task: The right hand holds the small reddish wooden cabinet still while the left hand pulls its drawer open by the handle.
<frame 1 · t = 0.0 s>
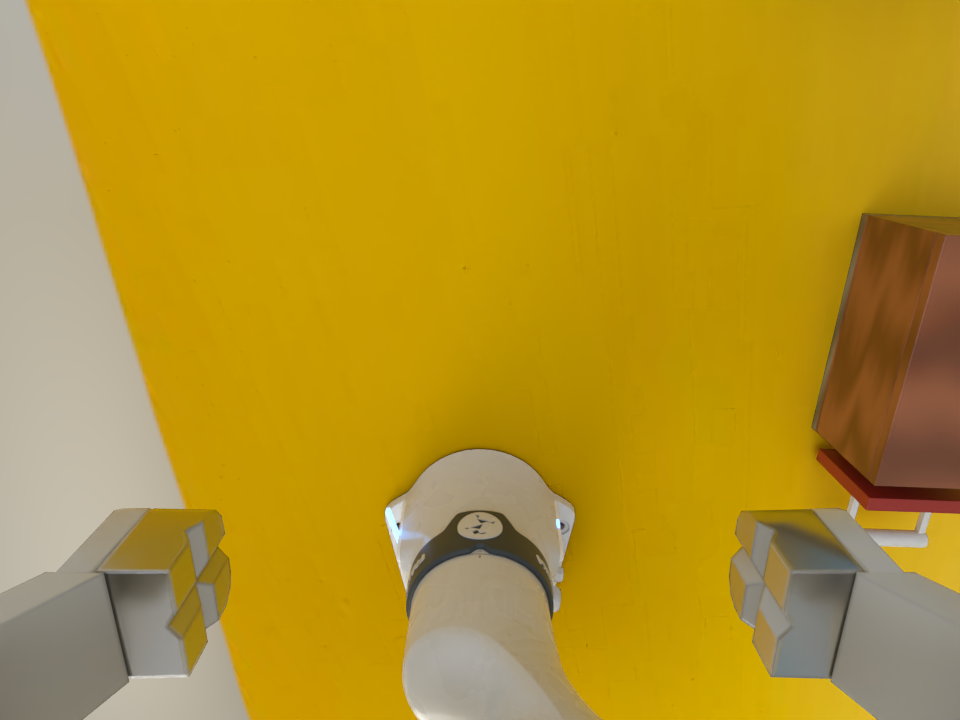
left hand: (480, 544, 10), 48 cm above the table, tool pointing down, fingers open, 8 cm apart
cabinet: (896, 329, 59), on the table
drawer: (913, 420, 57), point 5 cm above the table, slide at 1.7 cm
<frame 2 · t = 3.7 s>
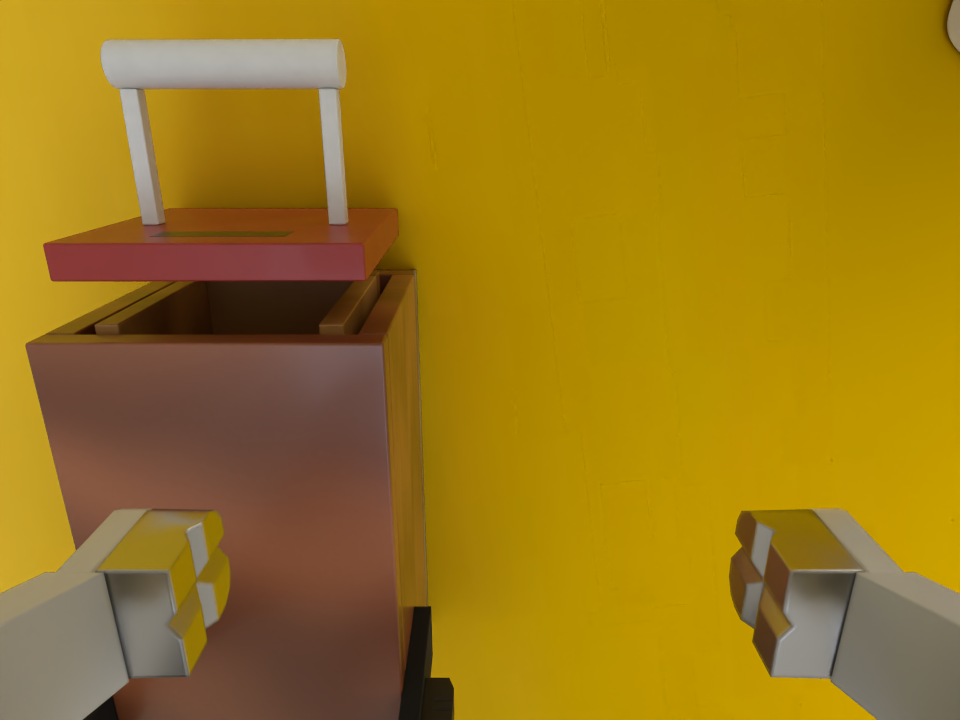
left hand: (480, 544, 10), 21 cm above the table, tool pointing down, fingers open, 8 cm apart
cabinet: (314, 463, 34), on the table, touching right hand
drawer: (268, 383, 26), point 5 cm above the table, slide at 1.7 cm
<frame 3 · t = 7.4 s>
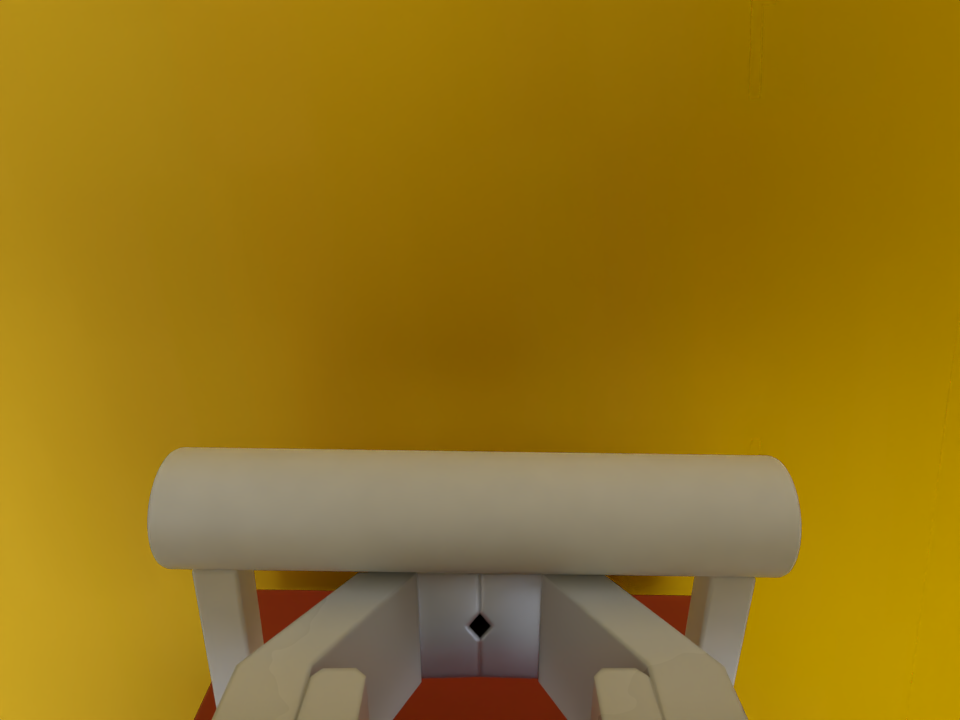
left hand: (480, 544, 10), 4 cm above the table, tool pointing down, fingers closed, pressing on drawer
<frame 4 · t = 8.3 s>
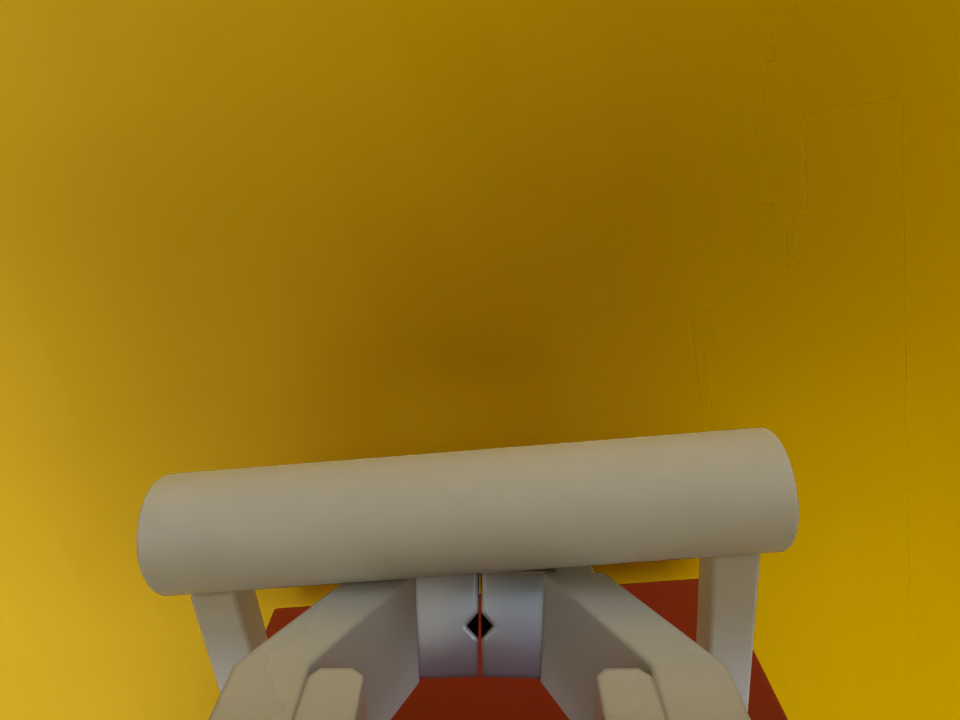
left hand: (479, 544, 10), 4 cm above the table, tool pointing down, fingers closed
when the right hand's fingers open (6 cm above the table, at t = 10.2 s): cabinet stays where it is, on the table.
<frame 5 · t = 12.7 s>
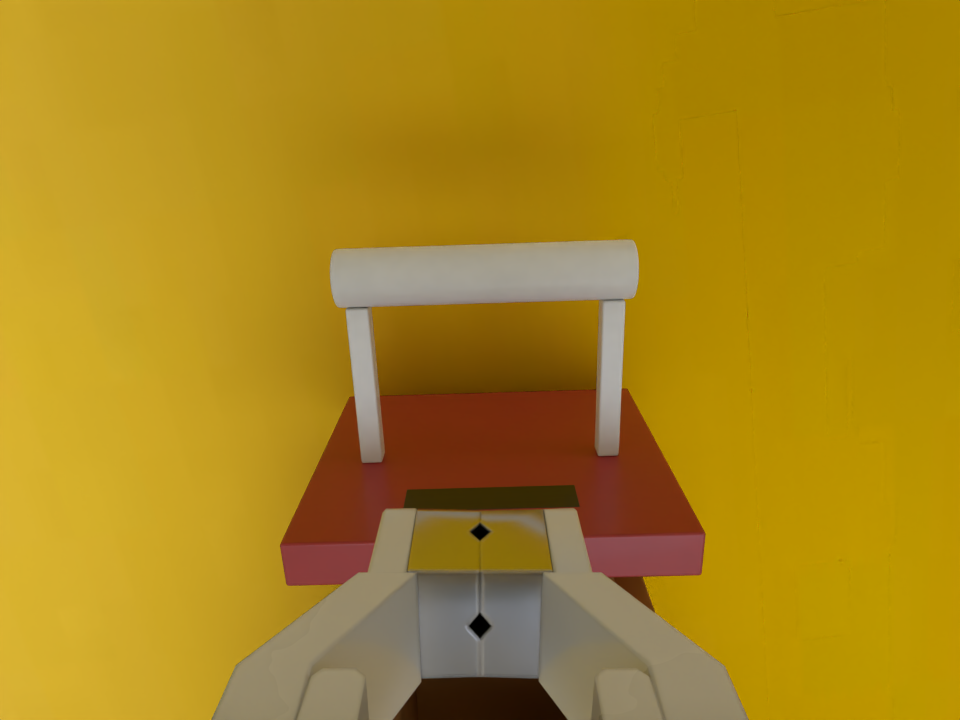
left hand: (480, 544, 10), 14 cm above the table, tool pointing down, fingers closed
drawer: (494, 624, 21), point 5 cm above the table, slide at 9.1 cm
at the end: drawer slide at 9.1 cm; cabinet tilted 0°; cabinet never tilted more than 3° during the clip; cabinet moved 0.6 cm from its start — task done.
